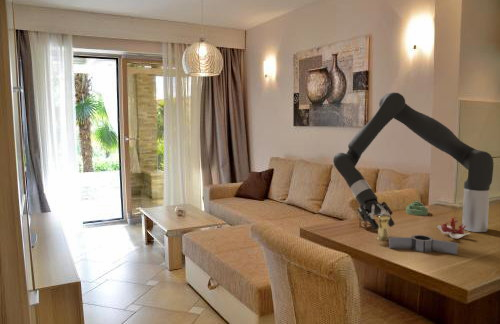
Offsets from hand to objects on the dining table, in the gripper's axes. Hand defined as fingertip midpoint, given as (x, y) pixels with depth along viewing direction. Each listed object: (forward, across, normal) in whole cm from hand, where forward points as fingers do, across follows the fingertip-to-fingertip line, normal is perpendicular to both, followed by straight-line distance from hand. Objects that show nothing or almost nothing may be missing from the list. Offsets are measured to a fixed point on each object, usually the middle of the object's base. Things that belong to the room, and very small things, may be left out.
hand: (385, 227), depth 153 cm
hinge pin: (+3, 0, +4) cm, 5 cm away
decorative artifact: (-12, +48, +19) cm, 53 cm away
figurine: (+12, +26, -4) cm, 28 cm away
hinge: (+14, +2, -7) cm, 16 cm away
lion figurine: (-9, +9, +17) cm, 21 cm away
